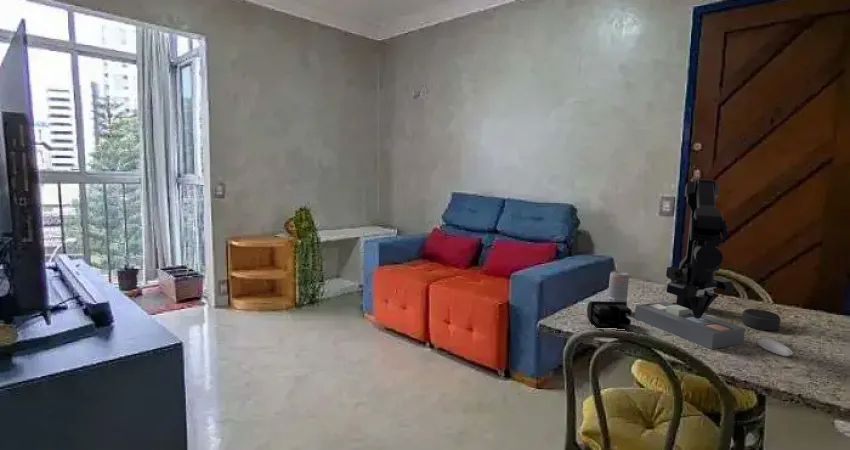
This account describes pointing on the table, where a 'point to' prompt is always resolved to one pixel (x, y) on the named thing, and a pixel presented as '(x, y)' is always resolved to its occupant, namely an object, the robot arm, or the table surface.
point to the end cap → (609, 314)
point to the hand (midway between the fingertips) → (696, 318)
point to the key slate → (697, 320)
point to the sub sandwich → (774, 347)
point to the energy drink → (618, 286)
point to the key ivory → (658, 306)
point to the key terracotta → (718, 327)
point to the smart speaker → (761, 319)
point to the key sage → (677, 310)
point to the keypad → (690, 326)
